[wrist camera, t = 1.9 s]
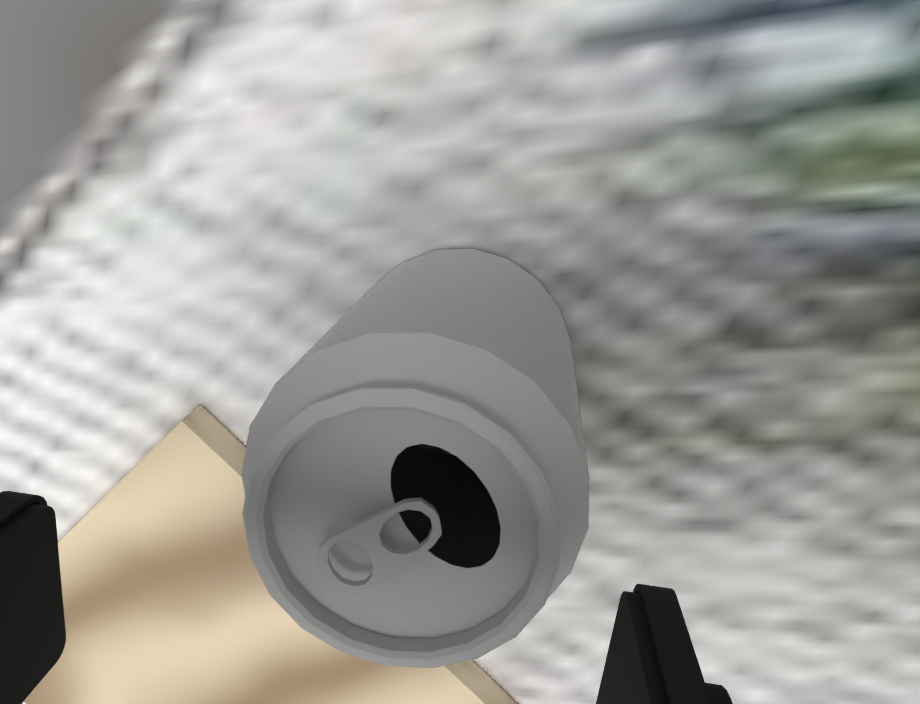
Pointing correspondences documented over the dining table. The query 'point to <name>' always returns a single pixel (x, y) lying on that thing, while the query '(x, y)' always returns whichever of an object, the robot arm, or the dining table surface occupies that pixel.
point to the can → (423, 466)
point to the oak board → (203, 602)
